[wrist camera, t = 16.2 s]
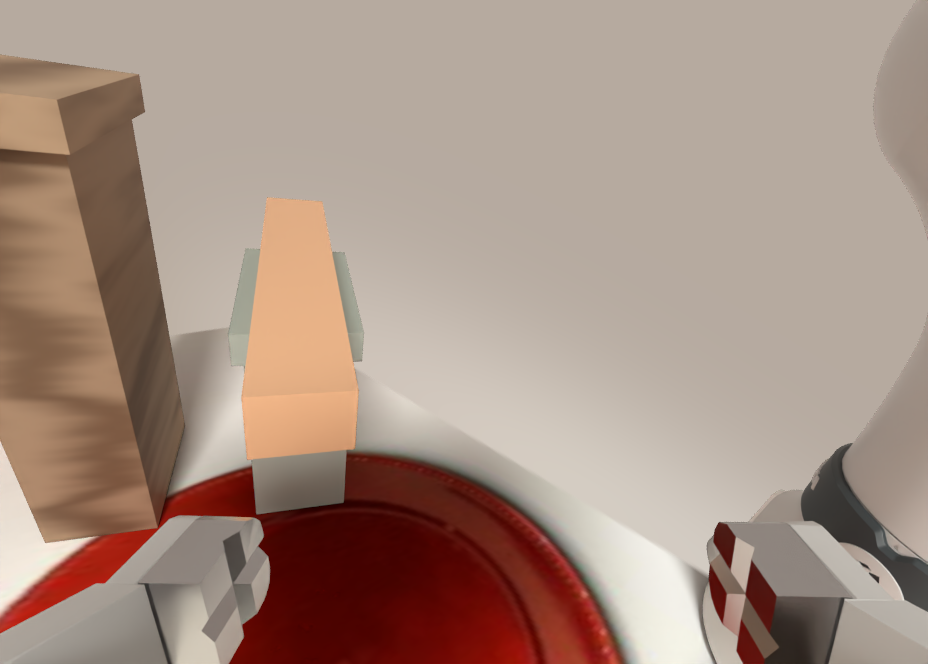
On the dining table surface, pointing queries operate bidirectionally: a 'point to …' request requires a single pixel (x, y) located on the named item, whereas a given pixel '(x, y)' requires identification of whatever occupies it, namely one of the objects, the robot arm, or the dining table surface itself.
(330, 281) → the bar
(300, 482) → the low stand
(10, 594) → the dining table surface
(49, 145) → the tall stand
